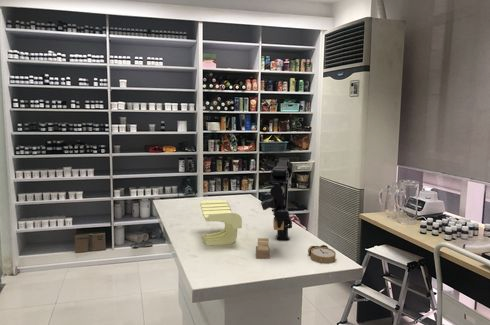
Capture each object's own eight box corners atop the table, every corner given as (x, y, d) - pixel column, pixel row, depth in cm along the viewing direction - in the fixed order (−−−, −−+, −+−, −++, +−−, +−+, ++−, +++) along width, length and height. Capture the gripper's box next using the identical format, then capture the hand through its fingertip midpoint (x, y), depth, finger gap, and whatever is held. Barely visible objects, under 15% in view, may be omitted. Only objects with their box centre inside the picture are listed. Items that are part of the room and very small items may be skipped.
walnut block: (255, 254, 182) (256, 246, 182) (268, 254, 182) (268, 246, 182) (256, 259, 176) (256, 250, 176) (269, 259, 176) (269, 250, 176)
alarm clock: (317, 258, 169) (304, 242, 183) (316, 268, 171) (303, 251, 185) (340, 256, 172) (326, 240, 186) (339, 266, 174) (324, 249, 188)
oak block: (257, 246, 181) (257, 238, 181) (268, 246, 181) (268, 238, 180) (257, 250, 176) (257, 241, 176) (268, 250, 176) (268, 241, 176)
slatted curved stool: (241, 248, 189) (241, 212, 187) (209, 251, 185) (209, 214, 183) (228, 230, 218) (228, 199, 216) (200, 232, 214) (200, 200, 212)
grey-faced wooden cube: (273, 227, 186) (273, 217, 186) (282, 227, 187) (282, 217, 186) (274, 229, 182) (274, 219, 182) (283, 229, 182) (283, 219, 182)
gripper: (260, 190, 191) (260, 221, 193) (263, 198, 173) (262, 232, 175) (283, 190, 192) (282, 221, 194) (288, 198, 173) (287, 232, 175)
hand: (278, 226), depth 184 cm, fingers closed on grey-faced wooden cube, 4 cm apart
